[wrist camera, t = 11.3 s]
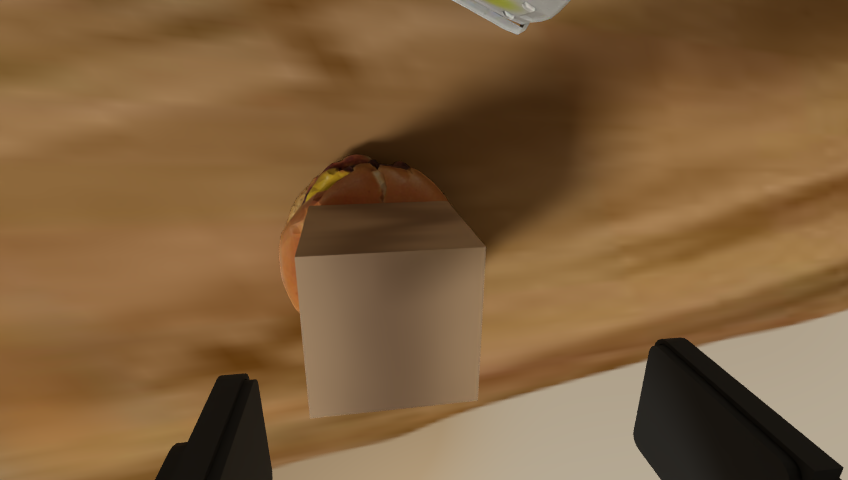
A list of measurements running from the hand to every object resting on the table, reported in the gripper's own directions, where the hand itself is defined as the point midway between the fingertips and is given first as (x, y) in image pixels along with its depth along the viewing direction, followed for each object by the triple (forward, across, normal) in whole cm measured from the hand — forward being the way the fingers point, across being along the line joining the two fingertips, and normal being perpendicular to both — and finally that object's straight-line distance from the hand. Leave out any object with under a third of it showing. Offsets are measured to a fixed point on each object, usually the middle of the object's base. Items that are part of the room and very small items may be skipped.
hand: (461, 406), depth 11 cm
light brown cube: (+11, +1, +1) cm, 11 cm away
